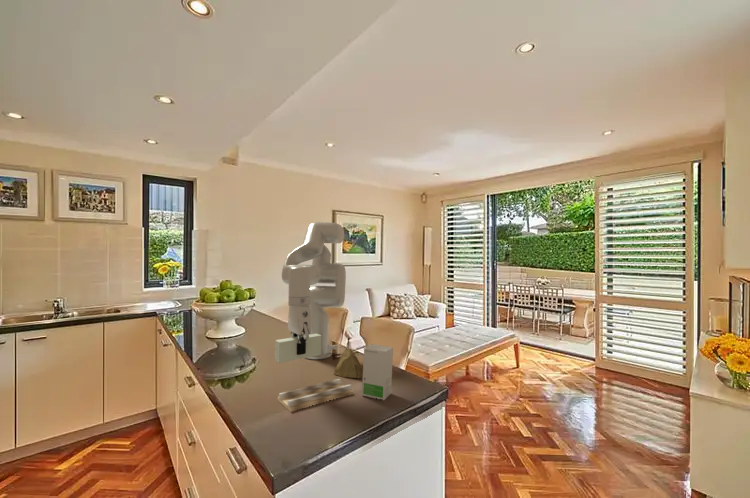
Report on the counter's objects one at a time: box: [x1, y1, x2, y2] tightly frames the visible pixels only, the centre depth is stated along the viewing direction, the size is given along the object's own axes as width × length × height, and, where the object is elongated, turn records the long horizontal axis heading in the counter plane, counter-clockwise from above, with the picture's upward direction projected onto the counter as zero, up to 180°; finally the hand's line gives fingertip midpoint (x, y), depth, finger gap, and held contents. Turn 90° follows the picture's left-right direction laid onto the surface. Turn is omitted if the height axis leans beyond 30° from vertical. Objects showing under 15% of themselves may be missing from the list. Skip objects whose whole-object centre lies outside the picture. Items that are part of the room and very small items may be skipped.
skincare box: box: [361, 343, 394, 401], centre depth 111 cm, size 8×7×16 cm
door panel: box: [274, 334, 321, 364], centre depth 120 cm, size 16×4×7 cm, turn 128°
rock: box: [333, 347, 363, 379], centre depth 128 cm, size 11×9×10 cm
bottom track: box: [276, 378, 354, 413], centre depth 109 cm, size 22×10×2 cm, turn 128°
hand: (298, 352), depth 120 cm, fingers closed on door panel, 3 cm apart
